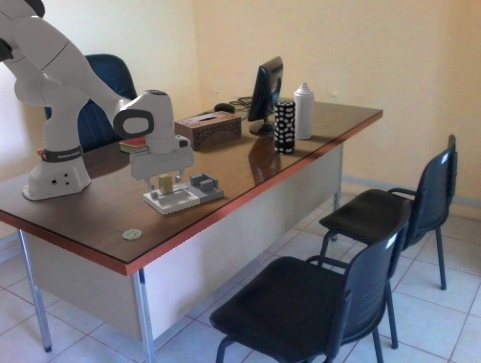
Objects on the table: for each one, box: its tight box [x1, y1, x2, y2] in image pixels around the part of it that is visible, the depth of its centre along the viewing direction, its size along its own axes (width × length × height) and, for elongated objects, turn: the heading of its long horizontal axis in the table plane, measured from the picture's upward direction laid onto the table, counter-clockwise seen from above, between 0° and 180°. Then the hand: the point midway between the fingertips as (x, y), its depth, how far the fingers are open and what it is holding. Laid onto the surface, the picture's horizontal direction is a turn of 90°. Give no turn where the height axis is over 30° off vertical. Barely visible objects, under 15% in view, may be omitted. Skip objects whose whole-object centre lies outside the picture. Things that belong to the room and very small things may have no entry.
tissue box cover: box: [173, 110, 243, 152], centre depth 206 cm, size 26×14×10 cm, turn 128°
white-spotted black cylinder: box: [274, 100, 296, 156], centre depth 187 cm, size 8×8×20 cm
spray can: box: [293, 81, 316, 140], centre depth 203 cm, size 12×11×25 cm
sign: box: [102, 223, 143, 240], centre depth 132 cm, size 5×1×15 cm
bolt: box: [155, 173, 189, 199], centre depth 147 cm, size 10×4×7 cm, turn 126°
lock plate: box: [142, 172, 225, 216], centre depth 151 cm, size 22×14×5 cm, turn 126°
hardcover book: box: [118, 136, 147, 154], centre depth 202 cm, size 12×21×4 cm, turn 143°
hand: (165, 185), depth 146 cm, fingers open, 8 cm apart
